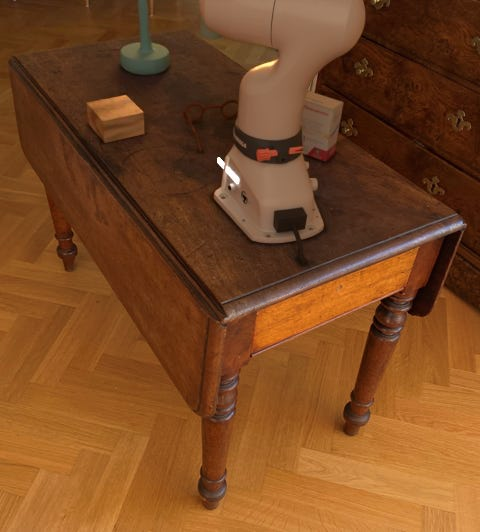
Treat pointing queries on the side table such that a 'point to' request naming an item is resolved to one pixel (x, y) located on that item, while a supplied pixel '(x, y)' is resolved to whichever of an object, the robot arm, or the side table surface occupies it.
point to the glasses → (203, 114)
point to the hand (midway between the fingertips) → (208, 11)
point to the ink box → (320, 125)
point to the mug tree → (144, 49)
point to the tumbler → (207, 31)
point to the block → (115, 118)
